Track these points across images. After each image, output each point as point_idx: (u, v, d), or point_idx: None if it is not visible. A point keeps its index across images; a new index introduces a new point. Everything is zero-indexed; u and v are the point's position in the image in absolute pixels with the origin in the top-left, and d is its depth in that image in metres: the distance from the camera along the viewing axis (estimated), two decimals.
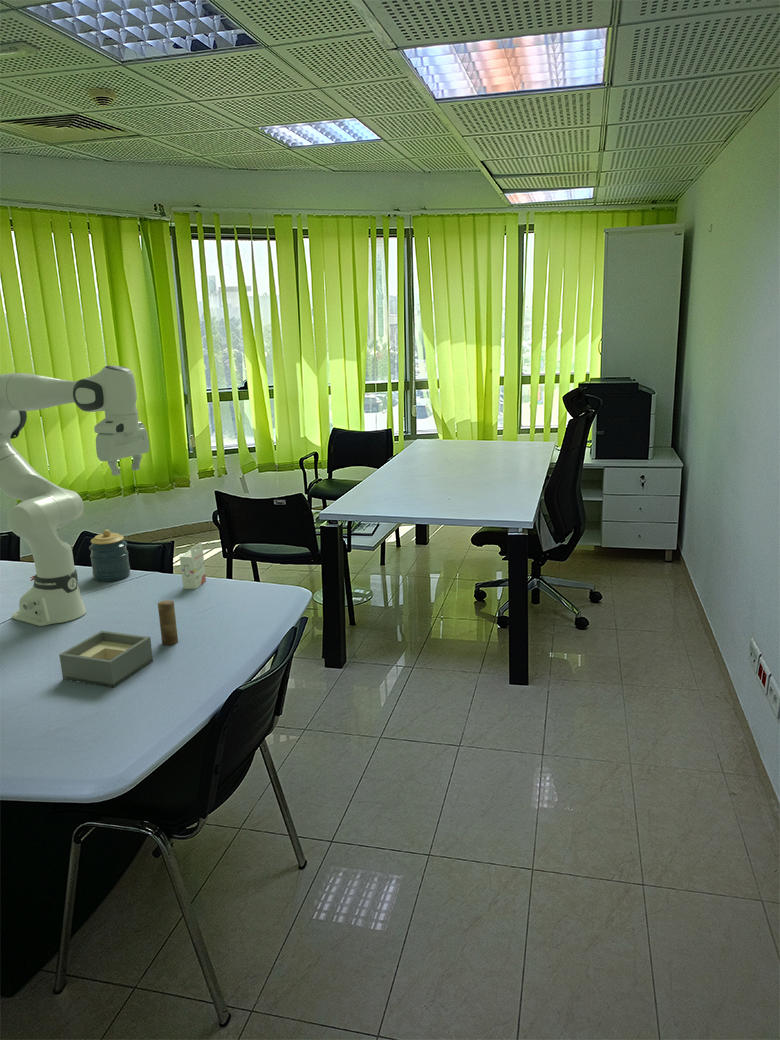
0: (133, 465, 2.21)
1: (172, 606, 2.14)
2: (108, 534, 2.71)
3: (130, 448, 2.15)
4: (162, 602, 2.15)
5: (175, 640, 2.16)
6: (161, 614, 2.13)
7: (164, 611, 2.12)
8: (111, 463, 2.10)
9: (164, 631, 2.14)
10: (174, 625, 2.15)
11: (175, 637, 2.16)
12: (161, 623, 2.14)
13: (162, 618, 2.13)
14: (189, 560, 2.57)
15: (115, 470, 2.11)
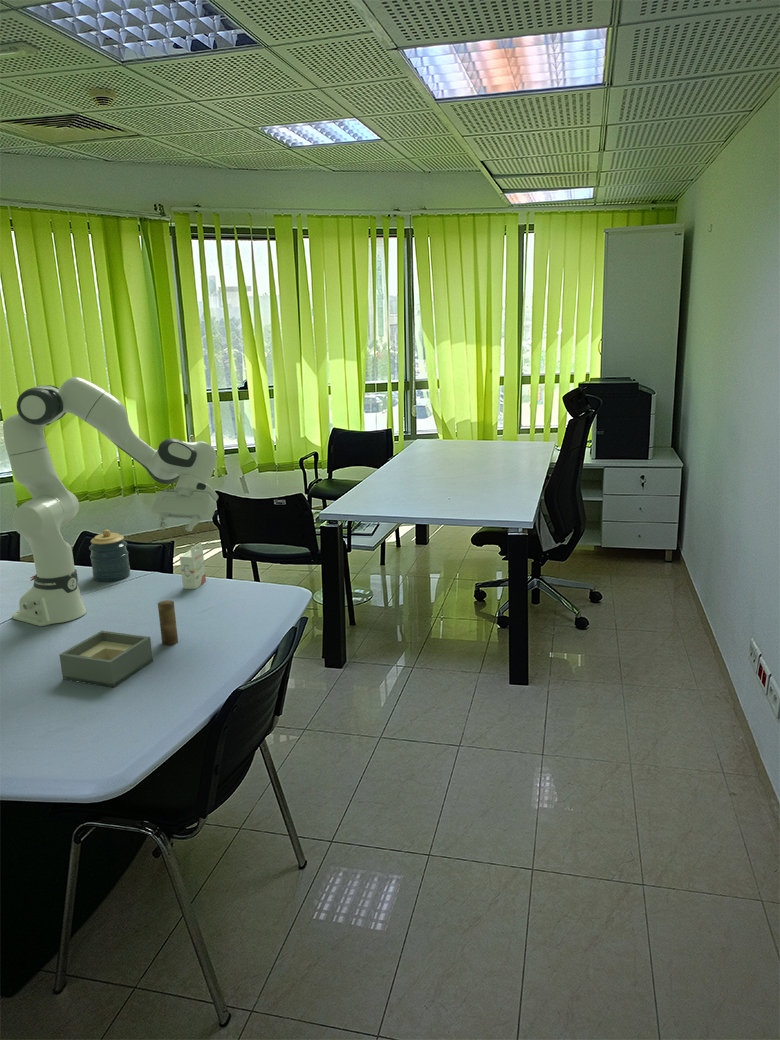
0: (164, 524, 2.27)
1: (172, 606, 2.14)
2: (108, 534, 2.71)
3: None
4: (162, 602, 2.15)
5: (175, 640, 2.16)
6: (161, 614, 2.13)
7: (164, 611, 2.12)
8: (197, 520, 2.25)
9: (164, 631, 2.14)
10: (174, 625, 2.15)
11: (175, 637, 2.16)
12: (161, 623, 2.14)
13: (162, 618, 2.13)
14: (189, 560, 2.57)
15: (192, 526, 2.25)
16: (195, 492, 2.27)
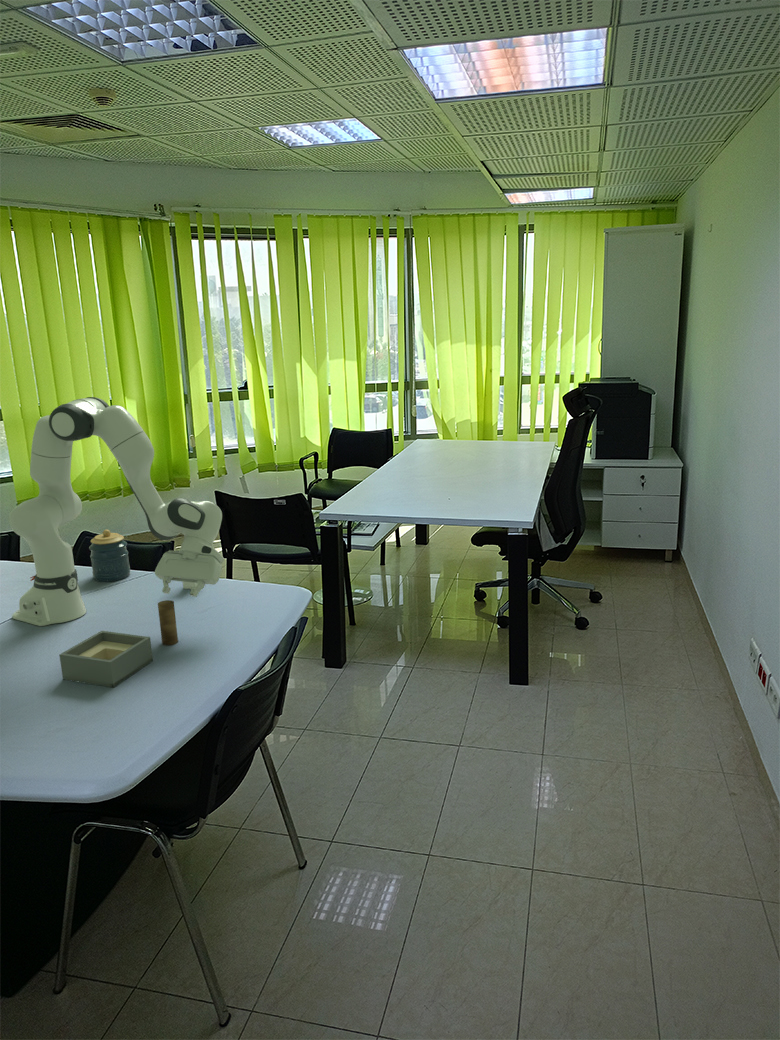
0: (168, 588, 2.22)
1: (172, 606, 2.14)
2: (108, 534, 2.71)
3: None
4: (162, 602, 2.15)
5: (175, 640, 2.16)
6: (161, 614, 2.13)
7: (164, 611, 2.12)
8: (202, 585, 2.19)
9: (164, 631, 2.14)
10: (174, 625, 2.15)
11: (175, 637, 2.16)
12: (161, 623, 2.14)
13: (162, 618, 2.13)
14: None
15: (197, 591, 2.19)
16: (200, 556, 2.21)
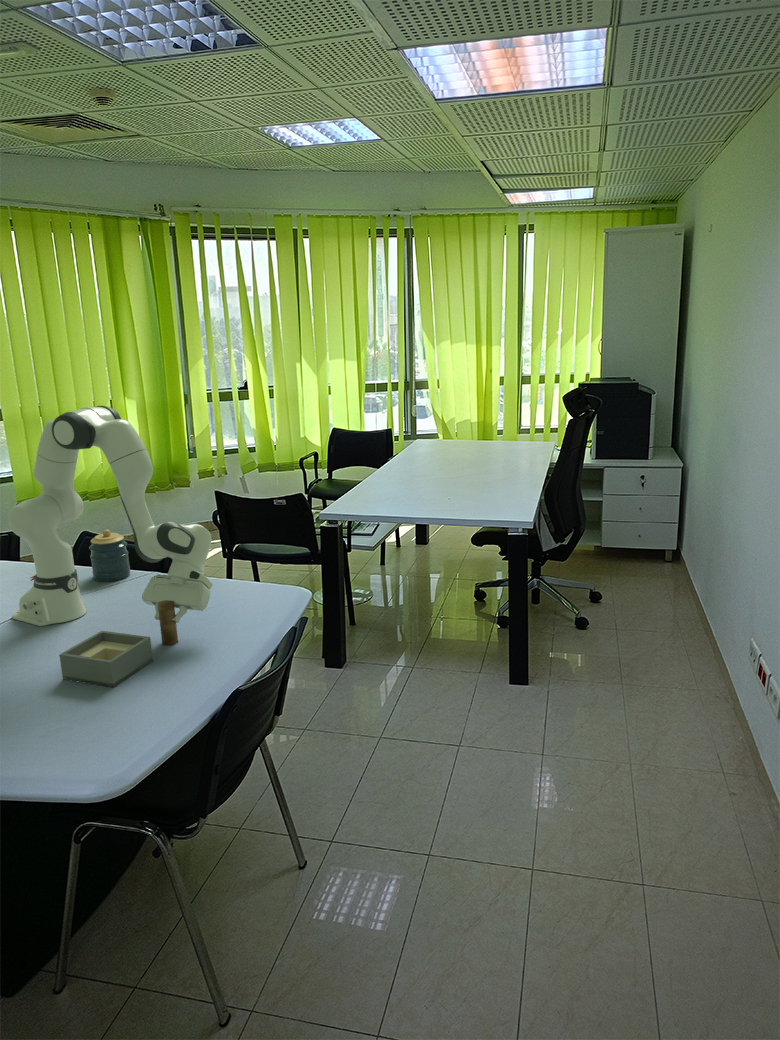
0: None
1: (172, 606, 2.14)
2: (108, 534, 2.71)
3: None
4: (162, 602, 2.15)
5: (175, 640, 2.16)
6: (161, 614, 2.13)
7: (164, 611, 2.12)
8: (184, 610, 2.15)
9: (164, 631, 2.14)
10: (174, 625, 2.15)
11: (175, 637, 2.16)
12: (161, 623, 2.14)
13: (162, 618, 2.13)
14: None
15: (179, 617, 2.15)
16: (188, 581, 2.16)
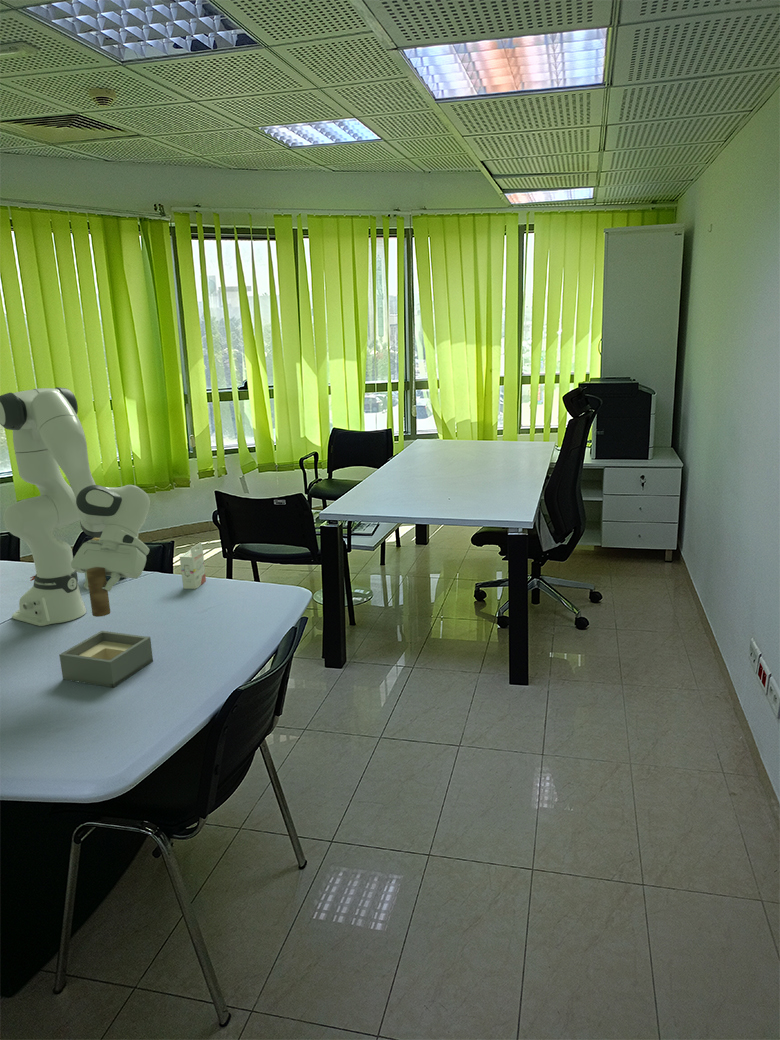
0: None
1: (102, 573, 1.93)
2: None
3: None
4: (92, 569, 1.94)
5: (106, 611, 1.95)
6: (90, 582, 1.92)
7: (93, 578, 1.92)
8: (116, 578, 1.94)
9: (94, 601, 1.93)
10: (105, 594, 1.94)
11: (106, 608, 1.95)
12: (90, 592, 1.93)
13: (91, 586, 1.92)
14: (189, 560, 2.57)
15: (111, 586, 1.94)
16: (121, 546, 1.96)
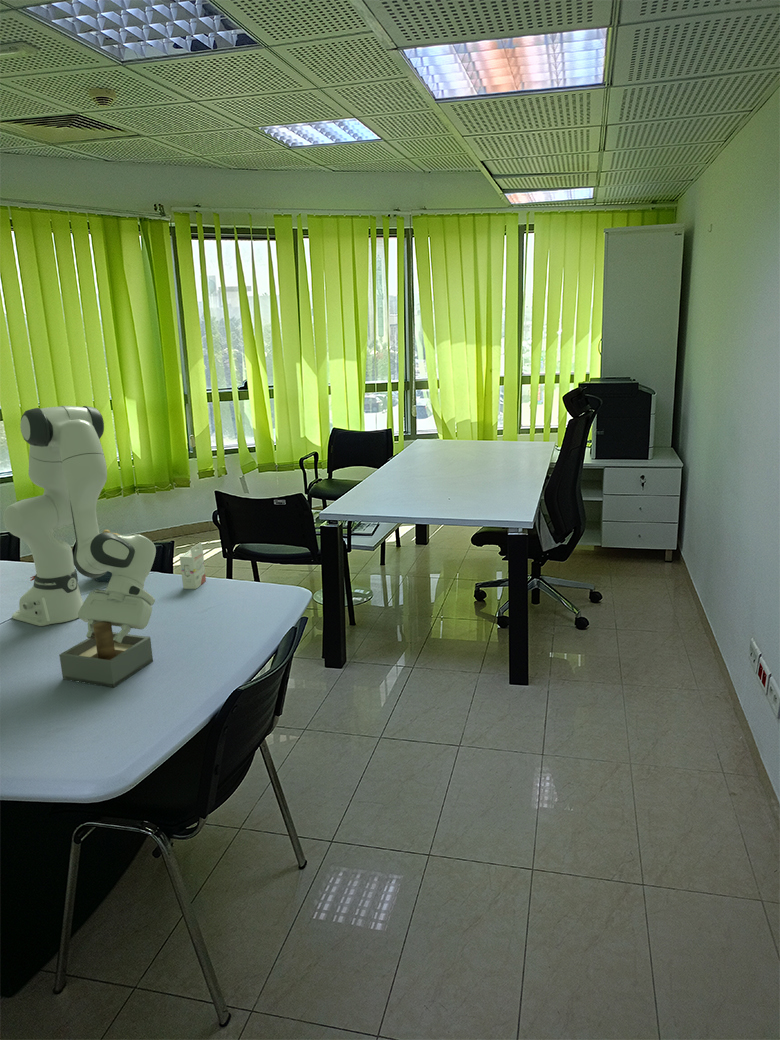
0: (93, 633, 1.99)
1: (109, 628, 1.97)
2: None
3: None
4: (98, 623, 1.98)
5: None
6: (97, 637, 1.96)
7: (100, 633, 1.96)
8: (127, 629, 1.98)
9: (101, 655, 1.97)
10: (112, 648, 1.98)
11: None
12: (97, 646, 1.97)
13: (98, 641, 1.96)
14: (189, 560, 2.57)
15: (122, 637, 1.97)
16: (127, 597, 1.99)
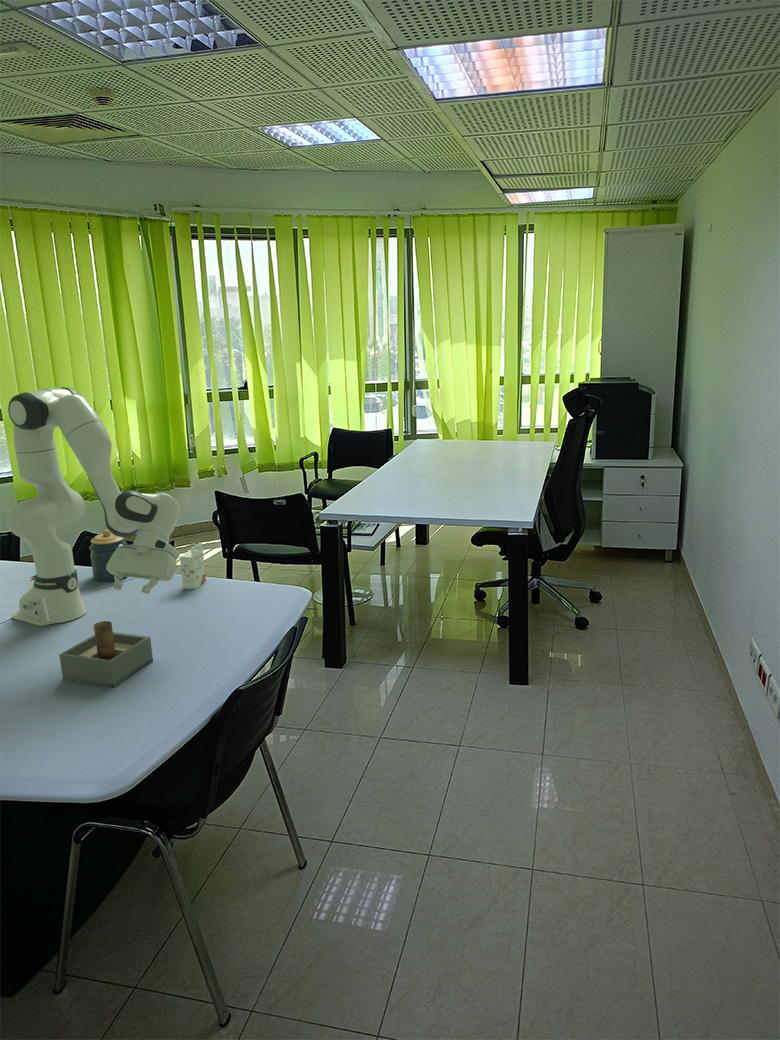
0: (120, 584, 2.10)
1: (109, 628, 1.97)
2: (108, 534, 2.71)
3: None
4: (99, 623, 1.98)
5: None
6: (97, 637, 1.96)
7: (100, 634, 1.96)
8: (155, 581, 2.07)
9: (101, 655, 1.97)
10: (112, 648, 1.98)
11: None
12: (97, 646, 1.97)
13: (98, 641, 1.96)
14: (189, 560, 2.57)
15: (150, 588, 2.07)
16: (154, 550, 2.09)
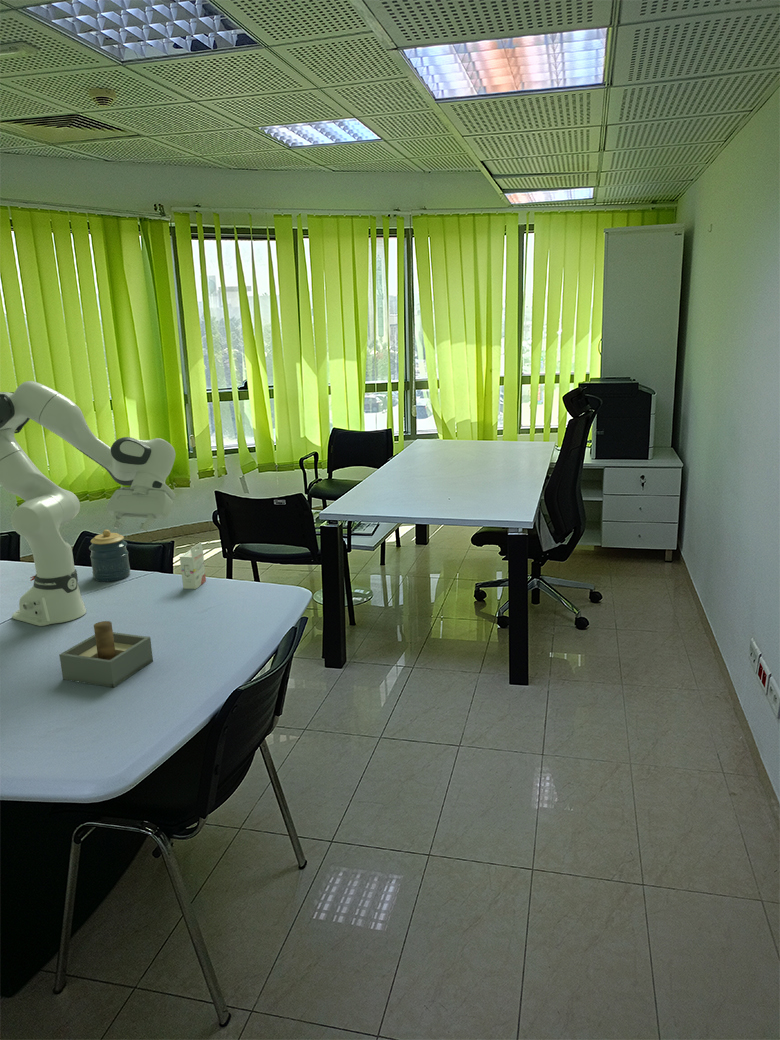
0: (119, 523, 2.20)
1: (109, 628, 1.97)
2: (108, 534, 2.71)
3: None
4: (99, 623, 1.98)
5: None
6: (97, 637, 1.96)
7: (100, 633, 1.96)
8: (152, 519, 2.18)
9: (101, 655, 1.97)
10: (112, 648, 1.98)
11: None
12: (97, 646, 1.97)
13: (98, 641, 1.96)
14: (189, 560, 2.57)
15: (147, 526, 2.18)
16: (151, 490, 2.20)
